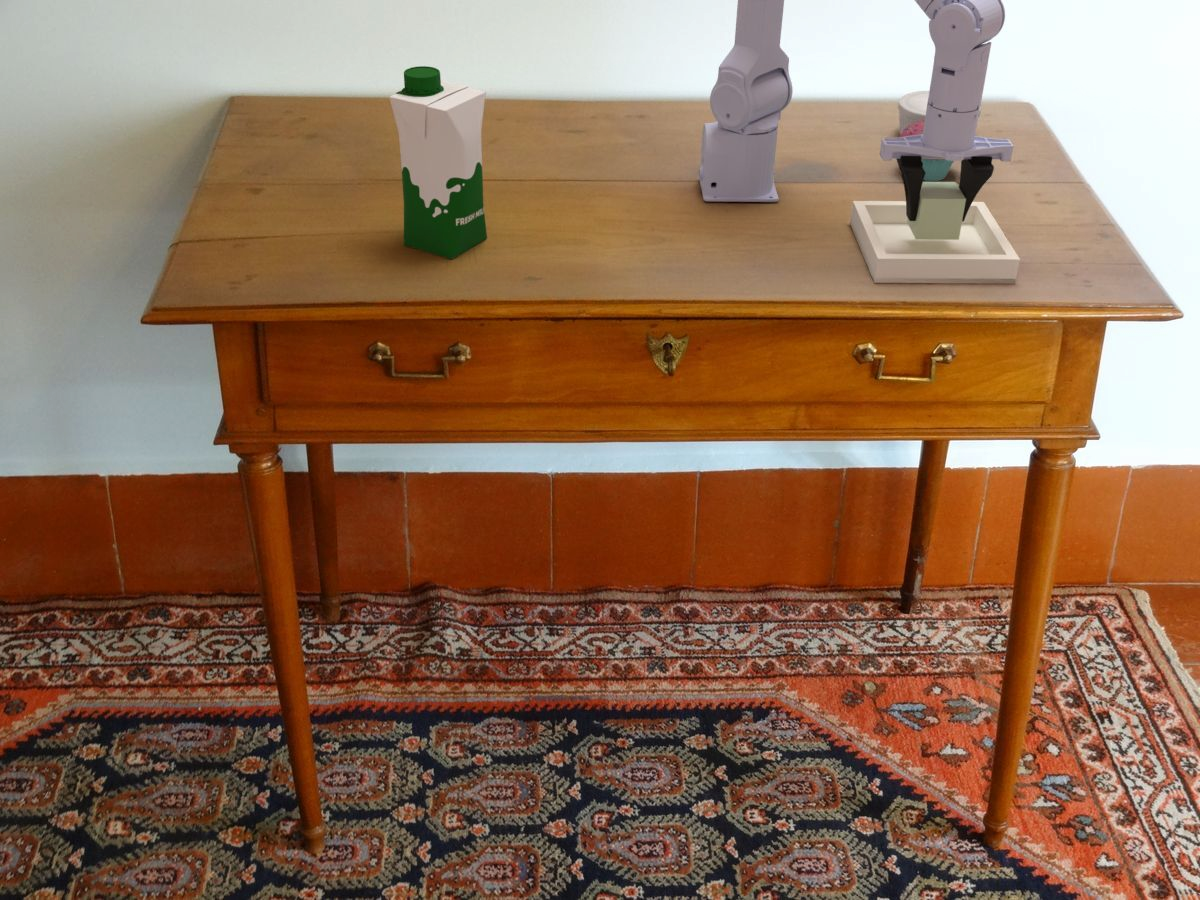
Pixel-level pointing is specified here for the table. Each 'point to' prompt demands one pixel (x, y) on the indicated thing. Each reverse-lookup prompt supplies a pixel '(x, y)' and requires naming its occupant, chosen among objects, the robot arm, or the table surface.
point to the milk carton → (440, 162)
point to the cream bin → (932, 247)
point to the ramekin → (913, 108)
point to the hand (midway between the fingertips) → (934, 217)
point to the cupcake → (932, 167)
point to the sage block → (939, 212)
